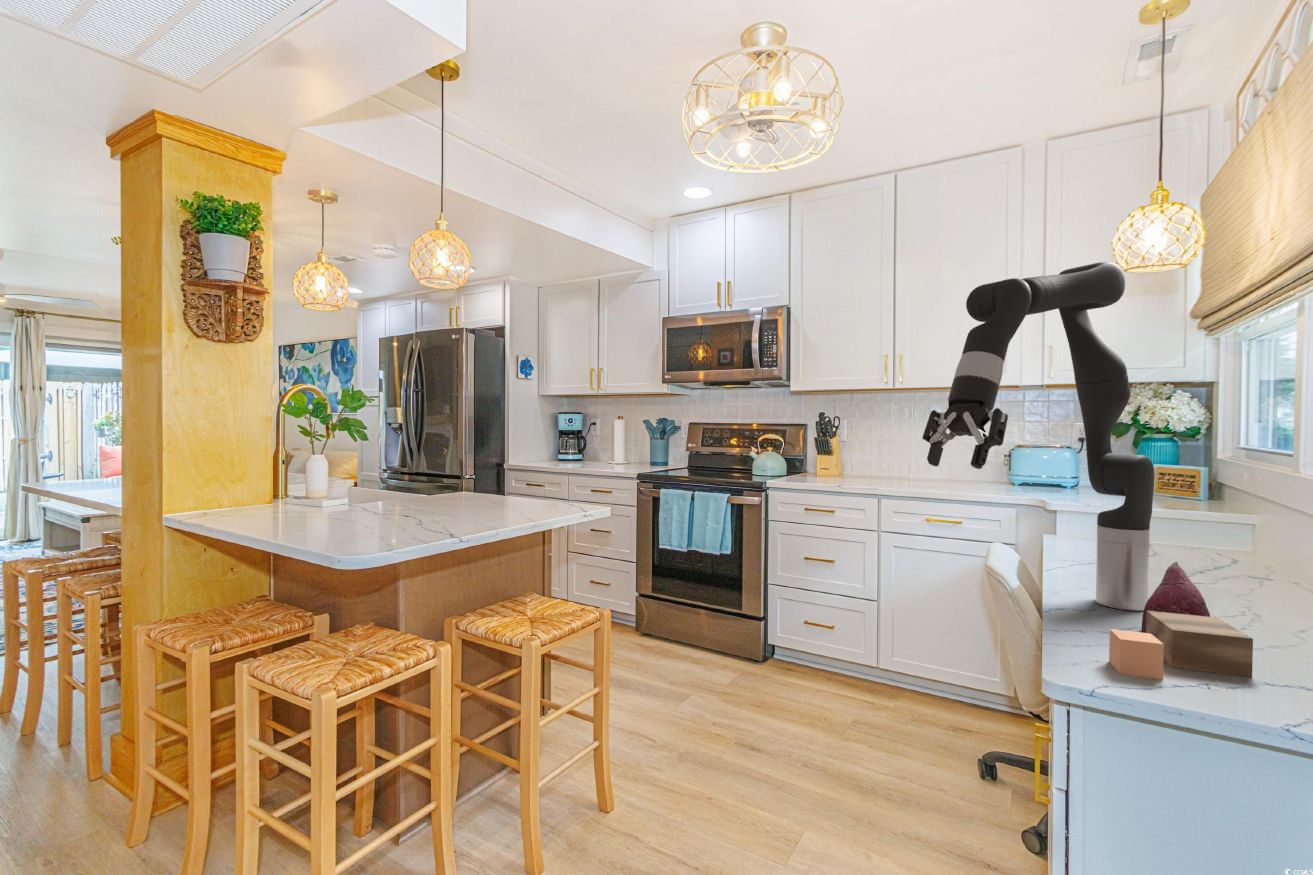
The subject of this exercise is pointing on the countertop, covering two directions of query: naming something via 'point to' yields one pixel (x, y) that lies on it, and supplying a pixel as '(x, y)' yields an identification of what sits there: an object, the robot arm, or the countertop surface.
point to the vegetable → (1176, 596)
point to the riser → (1201, 643)
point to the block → (1136, 653)
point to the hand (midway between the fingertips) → (953, 466)
